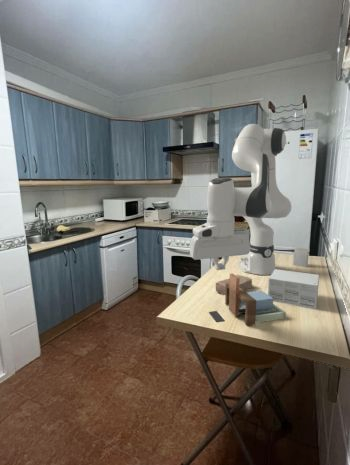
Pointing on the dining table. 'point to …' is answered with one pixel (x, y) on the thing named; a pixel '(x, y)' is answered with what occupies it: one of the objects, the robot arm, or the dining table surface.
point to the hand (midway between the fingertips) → (220, 269)
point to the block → (262, 300)
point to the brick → (244, 284)
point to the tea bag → (300, 257)
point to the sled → (236, 302)
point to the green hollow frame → (271, 315)
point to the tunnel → (250, 305)
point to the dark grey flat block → (216, 316)
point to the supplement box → (294, 288)
